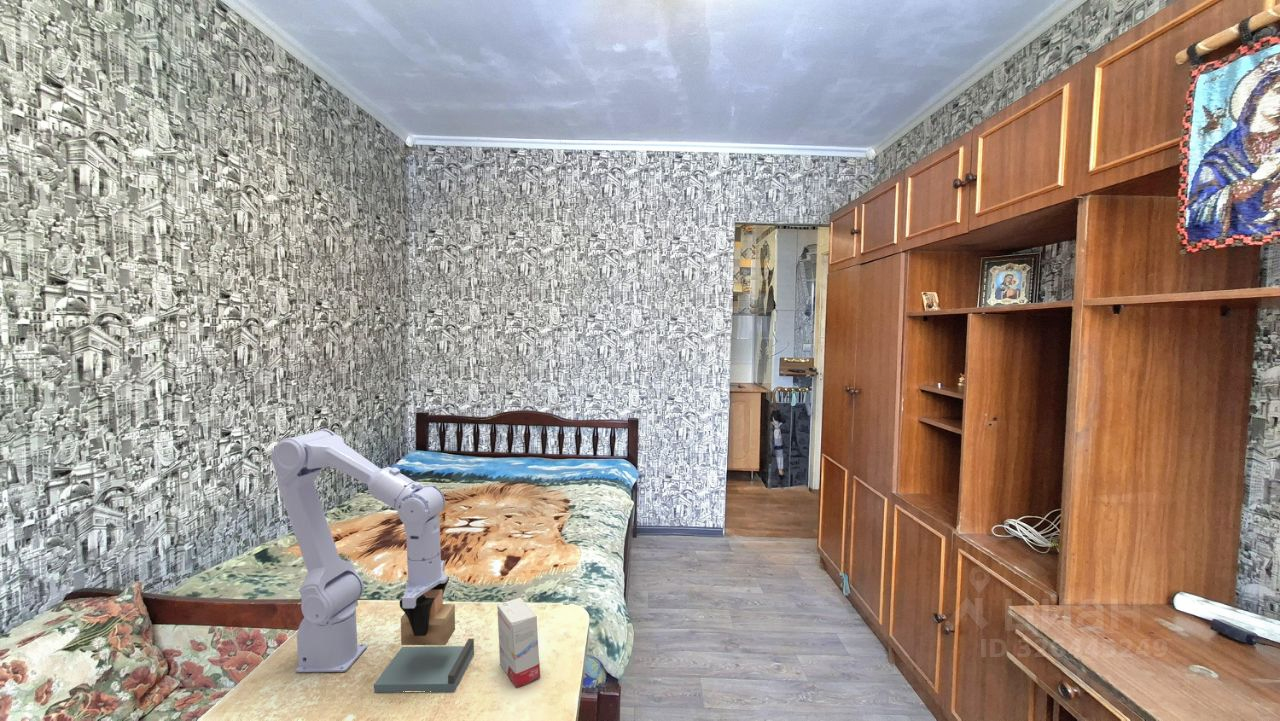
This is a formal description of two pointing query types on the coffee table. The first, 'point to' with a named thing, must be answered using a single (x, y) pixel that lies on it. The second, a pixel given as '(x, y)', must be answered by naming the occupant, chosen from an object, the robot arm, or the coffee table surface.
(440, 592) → the carton
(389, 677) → the dock
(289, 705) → the coffee table surface
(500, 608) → the ink box
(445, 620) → the tan rectangular block
